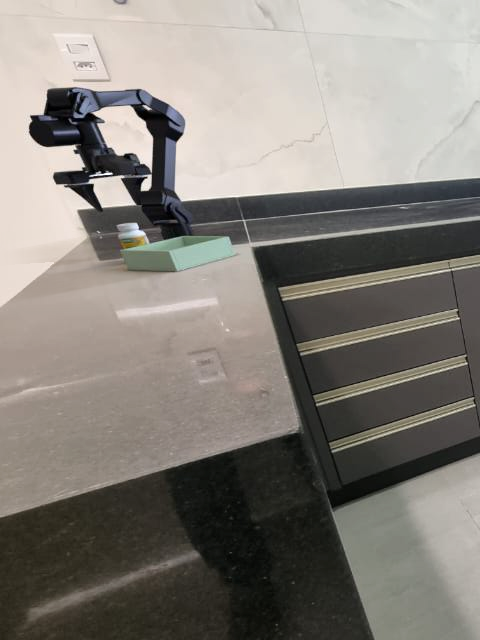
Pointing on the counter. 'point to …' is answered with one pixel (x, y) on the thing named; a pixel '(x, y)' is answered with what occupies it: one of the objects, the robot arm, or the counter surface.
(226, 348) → the counter surface
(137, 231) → the supplement bottle
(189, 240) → the bin
